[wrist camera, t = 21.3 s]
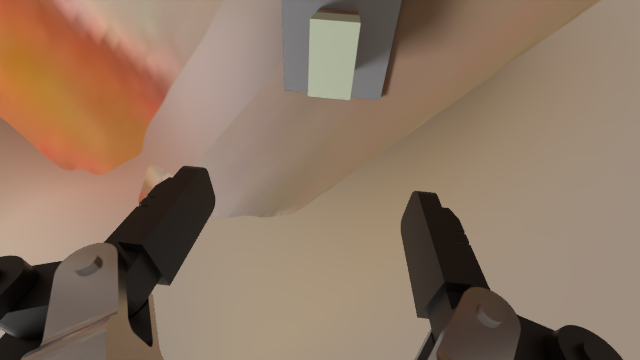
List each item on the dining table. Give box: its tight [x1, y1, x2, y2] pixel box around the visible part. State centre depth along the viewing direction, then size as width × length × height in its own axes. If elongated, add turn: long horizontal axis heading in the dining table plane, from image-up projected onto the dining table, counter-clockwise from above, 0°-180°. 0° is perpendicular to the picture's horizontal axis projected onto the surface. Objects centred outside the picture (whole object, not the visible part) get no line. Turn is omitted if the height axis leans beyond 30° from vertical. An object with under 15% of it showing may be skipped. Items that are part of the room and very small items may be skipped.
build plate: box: [282, 0, 402, 100], centre depth 32 cm, size 14×14×1 cm
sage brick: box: [308, 12, 361, 100], centre depth 26 cm, size 4×7×5 cm, turn 177°
